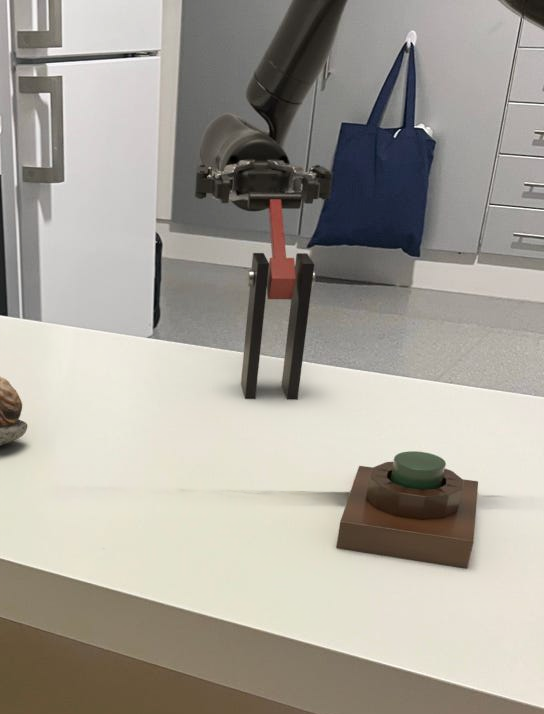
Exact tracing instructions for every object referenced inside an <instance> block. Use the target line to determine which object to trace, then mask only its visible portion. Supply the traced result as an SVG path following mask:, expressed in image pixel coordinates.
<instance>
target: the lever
mask: <svg viewBox="0 0 544 714" xmlns="http://www.w3.org/2000/svg"><path fill="white" fill-rule="evenodd" d="M302 202H303V200H302V194H301V193H291V192H287V191H286V192H249V195H248V208H267V209H266V210H268V221H269V233H270V248H271V257H270V258H269V260H268V262H269V270H268V279H267V289H266V296H267V300H291V299H292V296H293V291H294V286H295V281H296V273H295V263H296V261H295V258H294V257H287V251H286V239H285V229H284V227H285V226H284V217H283V209H285V210H289V209H291V210H300V209H301V207H302Z"/></svg>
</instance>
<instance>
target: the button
mask: <svg viewBox="0 0 544 714" xmlns="http://www.w3.org/2000/svg"><path fill="white" fill-rule="evenodd" d="M392 462H393V467H392V473H391V478H390V481H391V482H392V483H395V484H397V485H400V486H403V487H405V488H412V489H419V490H427V489H438V488H440V487H441V485H442V480H443V475H444V471H445V469H446V466H447V464H446V460H445V459H444V458H442V457H441V456H439V455H437V454H434V453H429V452H426V451H425V452H424V451H414V450H413V451H411V450H409V451H403V452H400V453H397V454H396V455H395V456H394V457H393V461H392Z"/></svg>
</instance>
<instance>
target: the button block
mask: <svg viewBox="0 0 544 714" xmlns="http://www.w3.org/2000/svg"><path fill="white" fill-rule="evenodd" d="M393 462H394V461H385V462H383V463H381V464H380V463H379V464H378V465H376V466H373V467H372V466H365V465H358V468H357V471H356V474H355V477H354V480H353V483H352V486H351V489H350V492H349V495H348V497H347V500H346V503H345V507H344V510H343V512H342V515H341V518H340V521H339V526H338V533H337V540H336V545H335V546H336V547H335V548H336V549H337V550H338V549H339V550H344V551H351V552H357V553H363V554H370V555H375V556H376V555H377V556H381V557H387V558H388V557H389V558H396V559H401V560H408V561H414V562H420V563H427V564H434V565H441V566H447V567H453V568H458V569H466V570H467V569H468V567H469V562H470V558H471V554H472V549H473V546H474V541H475V529H476V516H477V504H478V503H477V502H478V492H479V491H478V489H479V481H478V480H470V479H463V478H462V477H461V476H459V475H458V474H457V473H455V472H454V471H453V470H451V469H448V468H445V471H444V475H443V480H442V485H441V487H440V488H438V489H427V490H419V489H412V488H405V487H403V486H400V485H397V484H395V483H392V482H391V481H390V478H391V473H392V467H393Z"/></svg>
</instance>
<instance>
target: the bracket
mask: <svg viewBox="0 0 544 714" xmlns="http://www.w3.org/2000/svg"><path fill="white" fill-rule="evenodd" d="M268 270H269V260H268V258H267V257H266V255H265V253H264V252H252V259H251V269H249V270H247V275H246V276H247V277H246V286H247V287H249V292H248V303H247V314H246V323H245V324H246V325H245V334H244V335H245V336H244V345H243V346H244V347H243V356H242V357H243V358H242V368H241V377H240V378H241V379H240V381H241V382H240V386H241V389H242V393H243V397H244V399H245V400H256V396H257V388H258V378H259V367H260V359H261V358H260V357H261V347H262V339H263V327H264V319H265V310H266V309H265V308H266V298H267V279H268ZM295 273H296V281H295V286H294V291H293V296H292V299H290V308H289V316H288V325H287V333H286V343H285V351H284V361H283V367H282V368H283V369H282V377H281V388H282V390H283V393H284V395H285V398H286V400H289V401H291V400H292V401H294V400H295V401H298V400H299V399H298V398H299V392H300V383H301V376H302V369H303V368H302V366H303V359H304V351H305V343H306V335H307V327H308V318H309V311H310V304H311V296H312V295H311V294H312V288H314V287H315V283H316V271H315V263H314V261H313V260H312V258H311V257H310V255H309V254H308V253H307V252H306V253H305V252H304V253H302V252H301V253H300V252H299V253H298V252H297V253H296V256H295Z"/></svg>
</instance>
